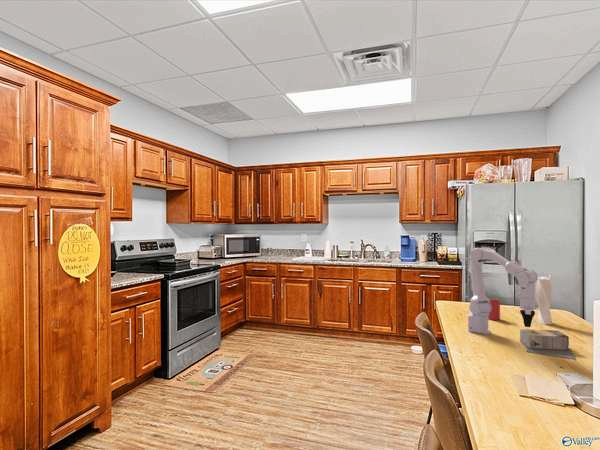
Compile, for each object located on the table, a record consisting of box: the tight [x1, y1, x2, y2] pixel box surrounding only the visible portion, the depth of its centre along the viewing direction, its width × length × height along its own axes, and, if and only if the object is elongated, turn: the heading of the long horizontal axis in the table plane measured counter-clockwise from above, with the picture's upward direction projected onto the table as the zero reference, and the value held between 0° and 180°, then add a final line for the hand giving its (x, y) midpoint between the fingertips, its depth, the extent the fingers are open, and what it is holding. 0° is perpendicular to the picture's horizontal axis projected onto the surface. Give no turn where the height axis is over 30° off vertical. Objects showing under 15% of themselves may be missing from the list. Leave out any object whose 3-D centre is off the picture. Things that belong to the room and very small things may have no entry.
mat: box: [525, 346, 577, 361], centre depth 152 cm, size 17×14×1 cm
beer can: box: [487, 297, 501, 321], centre depth 203 cm, size 7×7×12 cm
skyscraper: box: [533, 274, 555, 326], centre depth 194 cm, size 8×8×28 cm
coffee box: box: [519, 328, 570, 350], centre depth 157 cm, size 9×6×16 cm
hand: (527, 326), depth 157 cm, fingers closed
